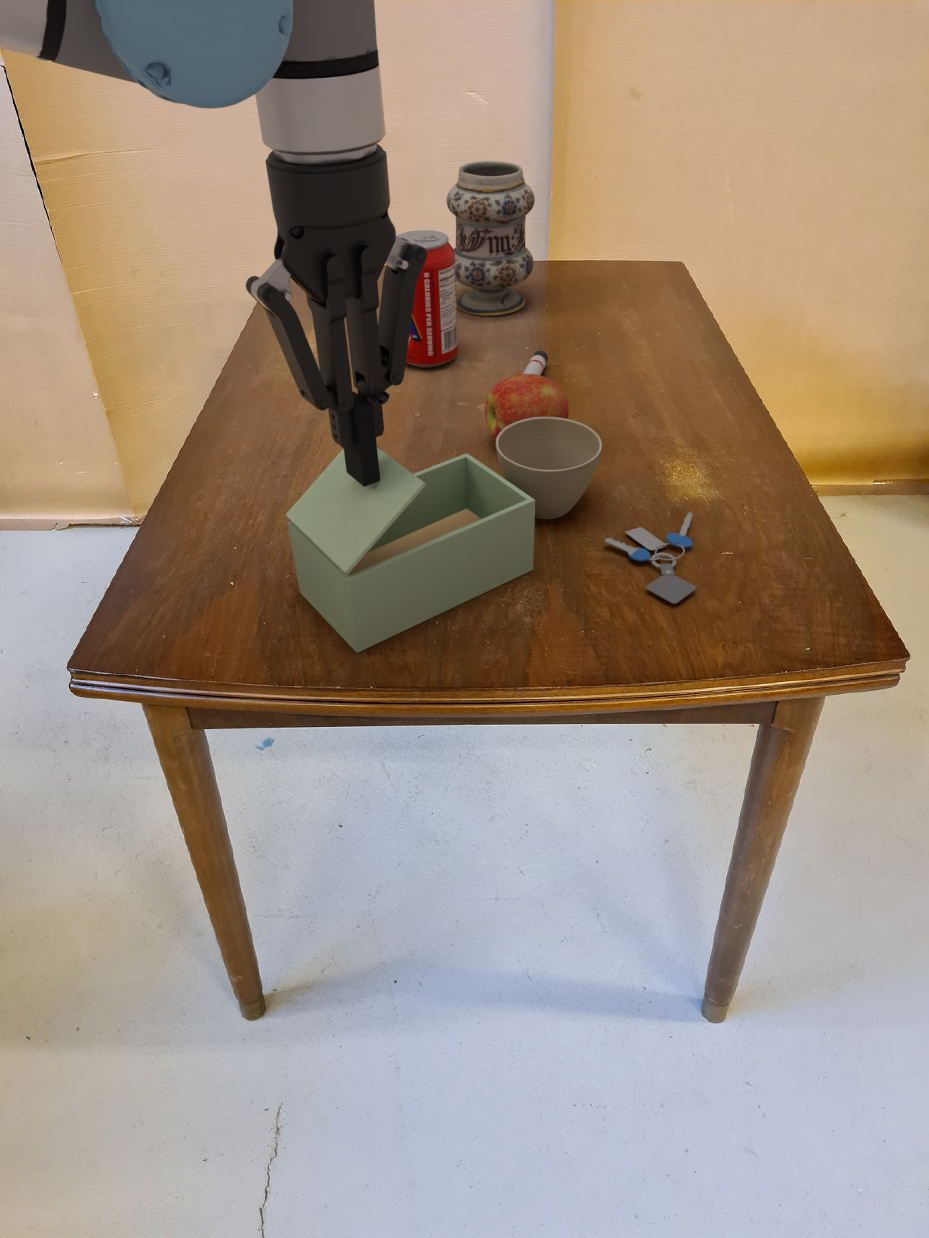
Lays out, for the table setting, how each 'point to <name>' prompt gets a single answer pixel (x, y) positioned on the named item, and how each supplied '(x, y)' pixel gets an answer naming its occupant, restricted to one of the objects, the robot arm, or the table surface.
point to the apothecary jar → (491, 236)
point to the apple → (523, 401)
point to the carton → (425, 556)
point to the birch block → (416, 539)
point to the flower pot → (549, 461)
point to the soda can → (433, 303)
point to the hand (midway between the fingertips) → (363, 476)
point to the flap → (353, 508)
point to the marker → (536, 363)
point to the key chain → (667, 582)
